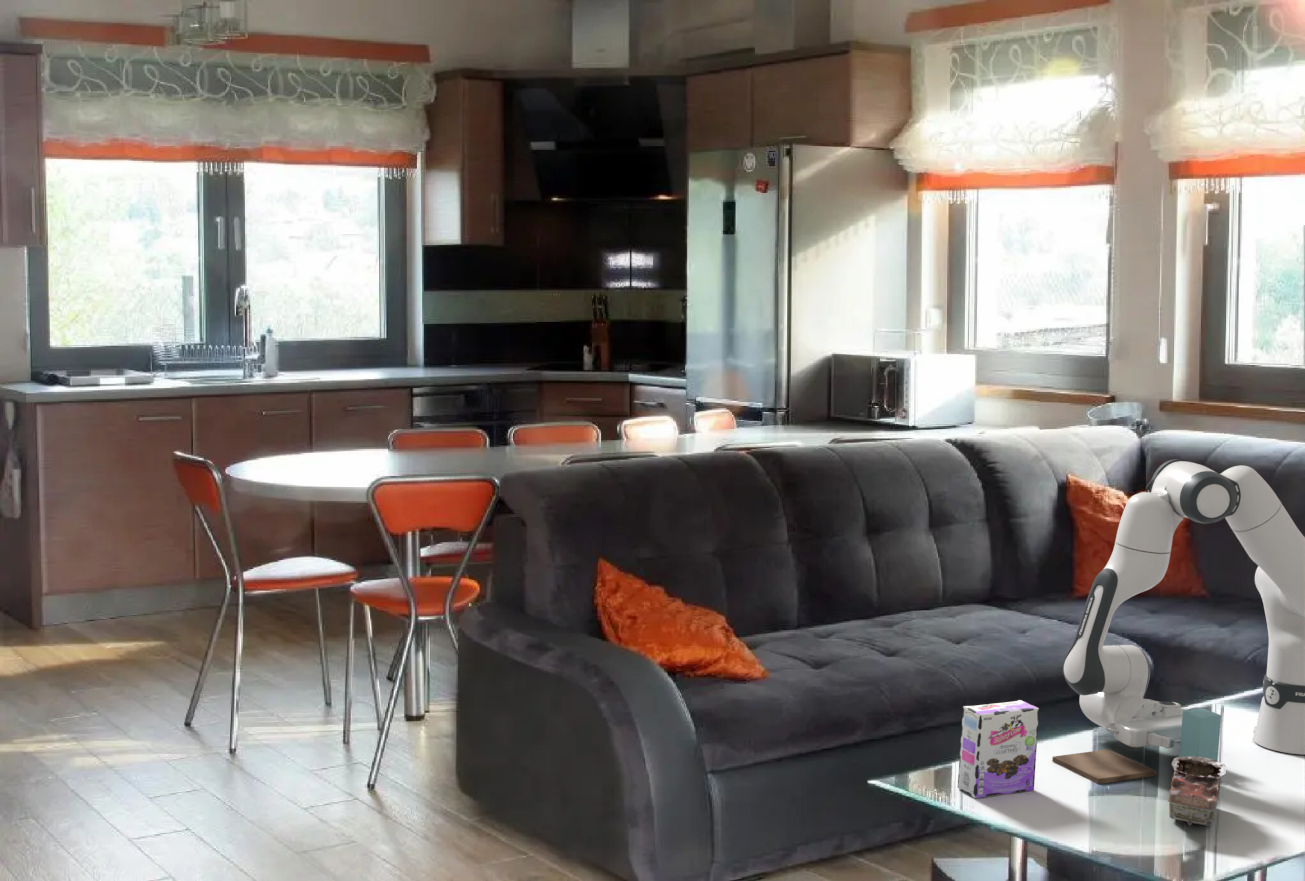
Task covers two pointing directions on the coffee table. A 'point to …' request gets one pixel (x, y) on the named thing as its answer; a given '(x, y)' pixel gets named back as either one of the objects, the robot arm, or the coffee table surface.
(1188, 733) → the teal block
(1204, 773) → the decorative box
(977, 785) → the candy box
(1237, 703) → the coffee table surface
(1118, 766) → the walnut board
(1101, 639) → the robot arm
